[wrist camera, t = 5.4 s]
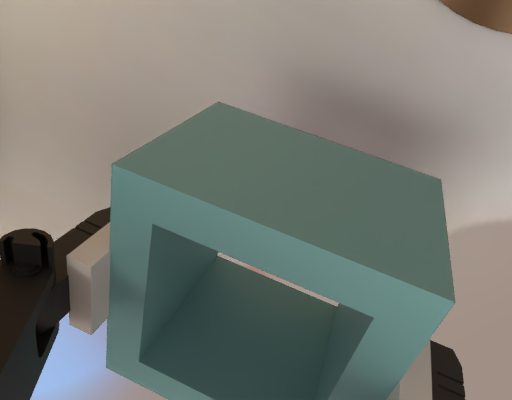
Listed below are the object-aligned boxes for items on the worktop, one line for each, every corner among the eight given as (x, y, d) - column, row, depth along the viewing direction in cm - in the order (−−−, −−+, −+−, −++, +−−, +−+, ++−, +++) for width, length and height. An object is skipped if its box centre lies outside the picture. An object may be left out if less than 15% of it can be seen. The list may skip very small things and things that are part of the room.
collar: (189, 264, 19) (106, 367, 14) (218, 101, 14) (111, 164, 9) (354, 337, 17) (328, 481, 12) (441, 179, 13) (455, 302, 8)
